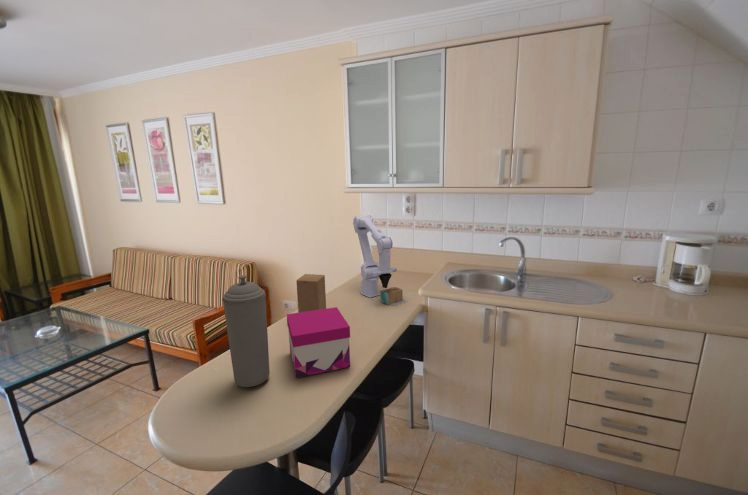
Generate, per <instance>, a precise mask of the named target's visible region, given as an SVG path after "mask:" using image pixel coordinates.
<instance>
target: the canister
mask: <svg viewBox="0 0 748 495" xmlns="http://www.w3.org/2000/svg"><path fill="white" fill-rule="evenodd" d="M237 277H238V279H240V282H237V283H234V284H232V285H230V287H229V288H228V290H226V291H225V293H224V294H223V297H222V299H221V300H222V302H223V310H224V316H225V318H224V319H225V323H226V332H227V338H228V345H229V351H230V359H231V360H230V361H231V365H232V372H233V380H234V384H235V385H236V386H239V387H242V388H252V387H255V386H258V385H261V384H263V383H264V382H265V381H267V379H268V378H270V356H269V339H268V338H269V336H268V320H267V318H268V317H267V302H266V295H267V294H266V292H265V290H264V289H263V288H262V287H261V286H260V285H258V284H257V283H256V282H253V281H246V278H247V277H248V276H247V275H246V274H244V275H243V274H242V275H239V276H237Z"/></svg>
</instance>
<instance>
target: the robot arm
mask: <svg viewBox="0 0 748 495" xmlns="http://www.w3.org/2000/svg"><path fill="white" fill-rule="evenodd" d="M352 225H353V229H354V231H355V233H356V234H357V236H358V241H359V245H360V246H359V247H360V250H361V254H362V258H363V264H362V265H361V266H360V273H361V274H360V275H361V278H362V279H361V283H360V287H361V292H360V295H363V296H365V297H368V298H371V299H372V298H374V297H378V296H380V292H379V280H380V281H381V283H380V284H381V285H382V288H384V289H388V285H389V282H390V280H391V278H392V276H393V275H392V273H397V272H398V270H397V269H398V268H397V267H391V249H392V248H393V240H392V237H388V236H386V234H384V232H383V231H382V230H381V228H380V229H379V228H377V226H376V225H375V223H374V218H373V217H372V215H362V216H360V215H359V216H353V222H352ZM369 232H370V234H371V238H372V239H373V240H374V241H375V243H376V244H375V245H376V249H377V253H378V262H376V261H375V260H374V258H373V253H372V249H371V245H370V242H369V237H368V233H369Z"/></svg>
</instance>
